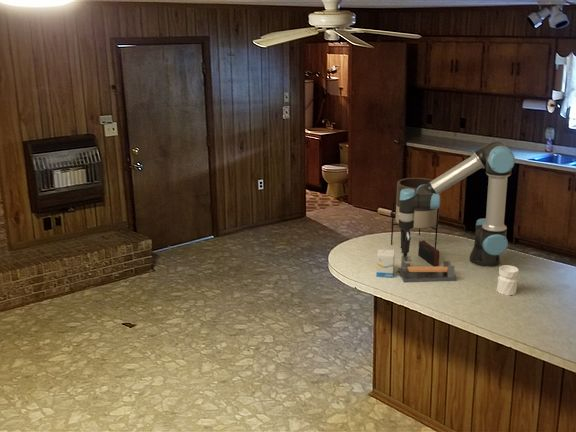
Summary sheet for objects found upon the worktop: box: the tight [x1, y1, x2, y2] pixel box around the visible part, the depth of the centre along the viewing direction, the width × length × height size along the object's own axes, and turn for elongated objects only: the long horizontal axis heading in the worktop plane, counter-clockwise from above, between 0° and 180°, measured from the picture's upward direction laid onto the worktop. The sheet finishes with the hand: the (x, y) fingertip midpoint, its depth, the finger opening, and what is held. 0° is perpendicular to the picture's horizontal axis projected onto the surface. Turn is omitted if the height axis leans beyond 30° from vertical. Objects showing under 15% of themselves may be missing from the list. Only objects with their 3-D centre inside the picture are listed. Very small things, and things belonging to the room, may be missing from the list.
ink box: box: [375, 248, 396, 279], centre depth 321 cm, size 9×8×12 cm
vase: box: [496, 264, 520, 295], centre depth 299 cm, size 9×9×12 cm
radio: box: [417, 239, 441, 267], centre depth 335 cm, size 19×3×15 cm, turn 18°
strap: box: [408, 265, 447, 272], centre depth 316 cm, size 21×5×1 cm, turn 93°
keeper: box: [400, 255, 413, 271], centre depth 320 cm, size 4×7×6 cm, turn 3°
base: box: [397, 259, 458, 283], centre depth 318 cm, size 26×13×8 cm, turn 93°
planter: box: [390, 177, 441, 249], centre depth 358 cm, size 26×25×35 cm
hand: (404, 263), depth 326 cm, fingers closed
